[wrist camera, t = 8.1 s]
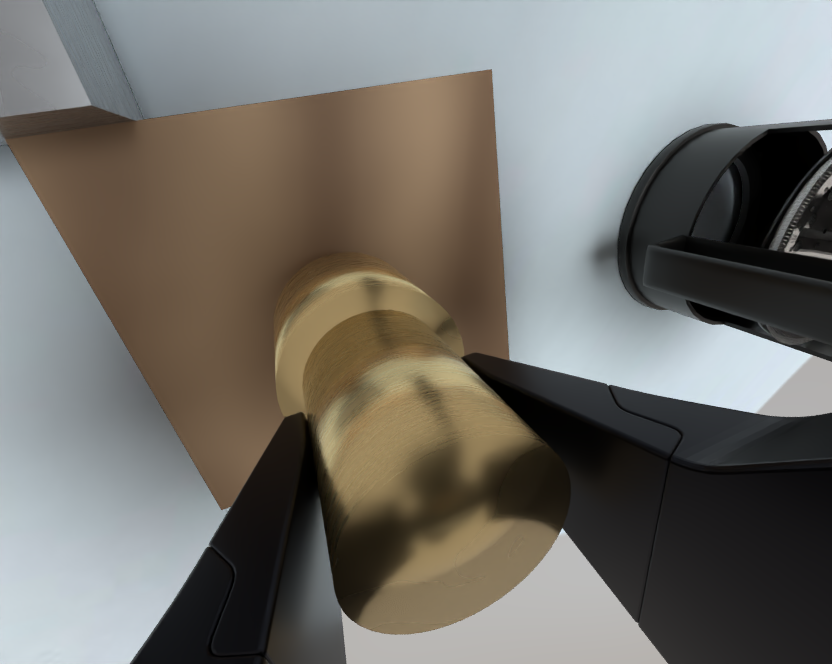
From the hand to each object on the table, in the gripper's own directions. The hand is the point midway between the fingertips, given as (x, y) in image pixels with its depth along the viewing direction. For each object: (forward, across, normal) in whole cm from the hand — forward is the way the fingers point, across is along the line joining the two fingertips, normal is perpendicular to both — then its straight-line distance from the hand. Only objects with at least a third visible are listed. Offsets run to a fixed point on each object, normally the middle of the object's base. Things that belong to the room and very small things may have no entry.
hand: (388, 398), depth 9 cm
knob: (+5, 0, 0) cm, 5 cm away
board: (+7, 0, 0) cm, 7 cm away
